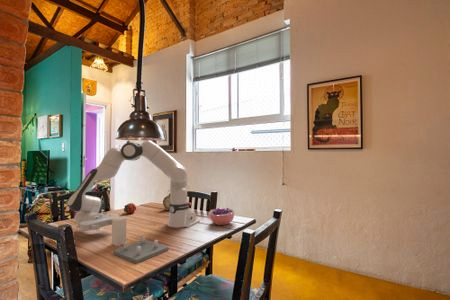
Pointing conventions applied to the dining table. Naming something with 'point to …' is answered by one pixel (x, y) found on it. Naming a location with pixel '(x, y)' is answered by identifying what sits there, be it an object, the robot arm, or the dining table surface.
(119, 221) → the cream post
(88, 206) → the robot arm
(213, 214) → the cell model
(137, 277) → the dining table surface
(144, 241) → the peg cradle
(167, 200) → the alarm clock
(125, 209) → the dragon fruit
